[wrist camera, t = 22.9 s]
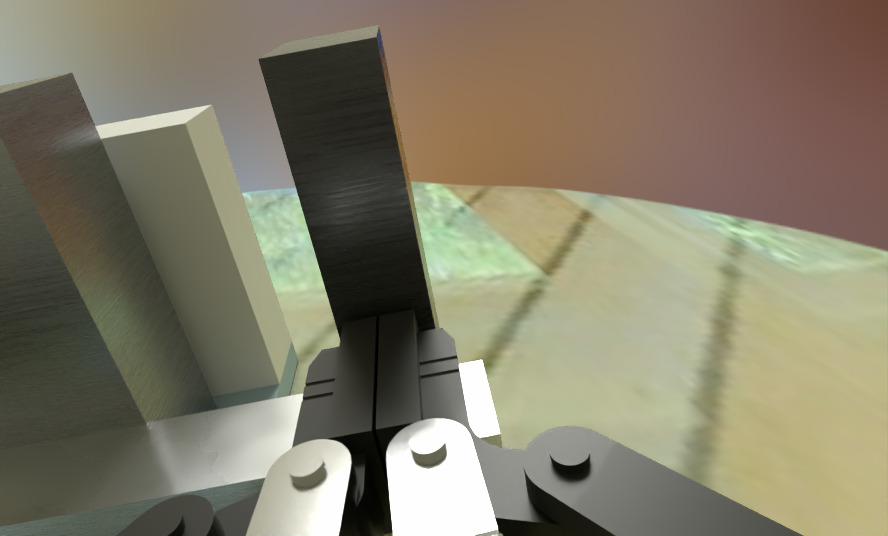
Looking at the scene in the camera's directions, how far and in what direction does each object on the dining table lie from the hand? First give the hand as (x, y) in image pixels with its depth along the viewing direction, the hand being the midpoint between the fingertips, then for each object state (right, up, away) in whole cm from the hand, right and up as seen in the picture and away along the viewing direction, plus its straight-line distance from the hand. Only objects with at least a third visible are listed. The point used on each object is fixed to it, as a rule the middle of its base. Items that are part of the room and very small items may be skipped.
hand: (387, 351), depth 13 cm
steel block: (-9, -5, +7) cm, 13 cm away
